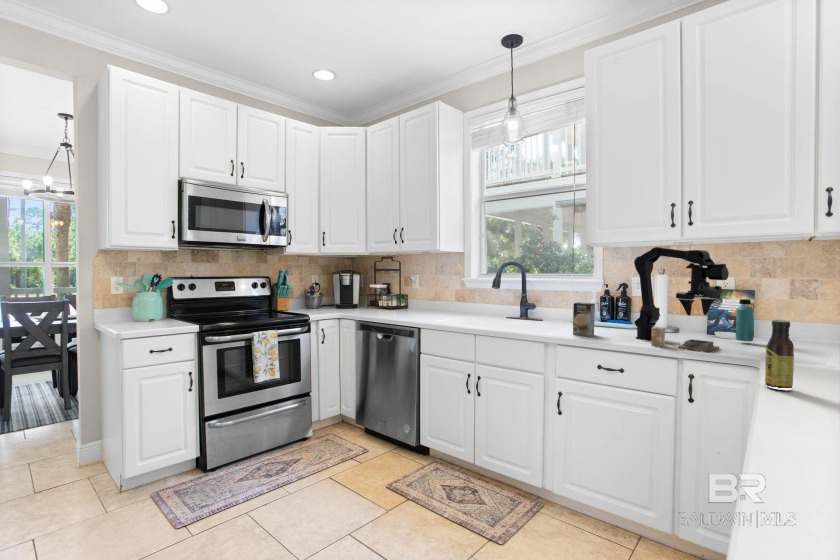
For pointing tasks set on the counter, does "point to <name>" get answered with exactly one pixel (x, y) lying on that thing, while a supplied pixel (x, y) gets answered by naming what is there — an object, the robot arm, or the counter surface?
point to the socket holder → (699, 345)
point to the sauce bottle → (779, 356)
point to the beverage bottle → (744, 322)
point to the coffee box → (583, 318)
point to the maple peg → (658, 337)
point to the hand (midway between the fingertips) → (697, 315)
